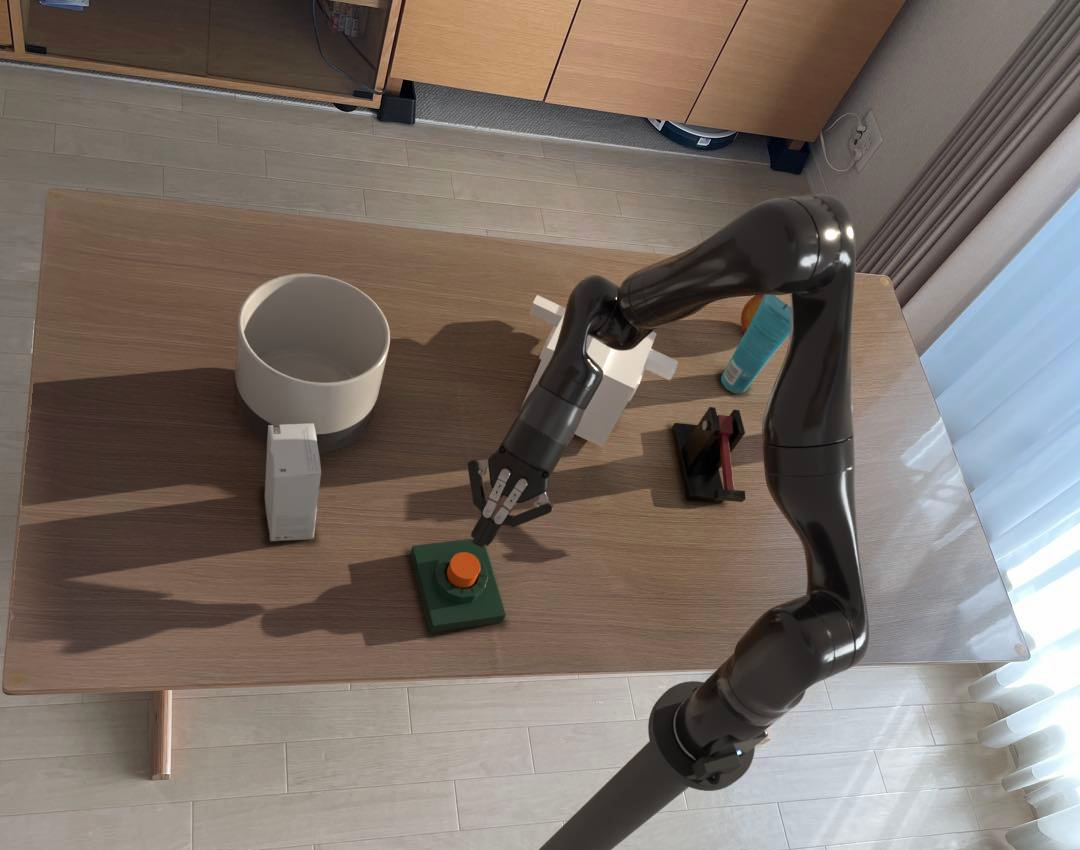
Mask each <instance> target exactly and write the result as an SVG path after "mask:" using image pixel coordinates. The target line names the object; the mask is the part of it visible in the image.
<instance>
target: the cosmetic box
mask: <svg viewBox="0 0 1080 850" xmlns="http://www.w3.org/2000/svg"><path fill="white" fill-rule="evenodd" d="M320 459H321V458H320V453H319V451H318V445H317V438H316V432H315V427H314V424H313V423H311V424H309V423H308V424H284V425H268V438H267V442H266V461H265V480H264V481H265V482H264V506H265V513H266V520H267V521H266V522H267V528H268V533H269V541H270V542H279V541H282V542H283V541H306V540H313V539H314V538H315V529H316V521H317V513H318V503H319V502H318V501H319V493H320V484H321V483H320V482H321V476H322V467H321V460H320Z"/></svg>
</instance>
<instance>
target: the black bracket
mask: <svg viewBox="0 0 1080 850" xmlns="http://www.w3.org/2000/svg"><path fill="white" fill-rule="evenodd" d="M729 416H732V424H733V434H732V435H731V436H729V437H728V439H729V448H730V454H731V453H732V452H733V451H734V449H735V448H736V447H737V446H738V445H739V443H740V441H741V440H742V439H743V437H744V436H745V435H746V431H745V427H744V423H743V418H742V415H741V411H740V409H733V410H732V411H731V412H730V414H729ZM670 428H671V433H672V438H673V442H674V448H675V452H676V457H677V463H678V468H679V472H680V476H681V481H682V486H683V491H684V495H685V500H686V501H687V502H700V503H711V504H723V502H724V501H722V500H714V491H715V490H716V489H724V484H723V480H722V476H721V473H720V469H721V468H722V464H721V454H720V445H719V439H718V438H716V437H717V436H718V434H719V433H720V431H721V429H720V425H719V421H718V412H717V408H716V407H715V406H709V407H708V408H707V410H706V411H705V413H704V415H703V416H702V417H701V419H700V420H699V422H698V424H691V423H683V422H682V423H681V422H674V423H673V425H672V426H671V427H670Z"/></svg>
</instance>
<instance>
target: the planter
mask: <svg viewBox="0 0 1080 850" xmlns="http://www.w3.org/2000/svg"><path fill="white" fill-rule="evenodd" d="M390 344H391V332H390V326H389V324H388V320H387V318H386V316H385V314H384V313H383V311H382V310H381V308H380V307H379V306H378V304H377V303H376V302H375V301H374V300H373V299H372V298H371V297H370V296H369V295H367V294H366V293H365V292H363V291H362V290H361V289H359V288H357V287H356V286H354V285H352V284H350V283H349V282H345V281H343V280H341V279H338V278H335V277H331V276H328V275H323V274H317V273H292V274H285V275H281V276H277V277H274V278H272V279H269V280H267V281H265V282H262V283H261V284H260V285H258V286H257V287H255V288H254V289H253V290H252V291H251V292H249V293H248V295H247V296H246V297H245V299H244V300H243V301H242V304H241V305H240V308H239V312H238V315H237V327H236V346H235V348H236V349H235V364H234V365H235V366H234V367H235V369H234V388H233V399H234V404H235V408H236V411H237V413H238V415H239V417H240V419H241V420H242V422H243V423H244V425H245V426H246V427H247V428H248V429H249V430H250V431H251V432H252V433H253V434H254V435H255V436H256V437H258V438H259V439H261V440H262V441H263V442H265V443H267V438H268V425H284V424H308V423H309V424H311V423H313V424H314V427H315V432H316V438H317V445H318V451H319V454H325V453H326V454H327V453H330V452H335V451H338V450H340V449H343V448H345V447H348V446H349V445H351V444H353V443H354V442H356V441H357V440H358V439H359V438H360V437H362V435H363V434H364V433H365V432H366V431H367V429H368V428H369V426H370V425H371V422H372V420H373V418H374V414H375V409H376V406H377V401H378V397H379V393H380V388H381V385H382V381H383V375H384V371H385V367H386V364H387V363H386V362H387V359H388V353H389V350H390ZM298 378H299V379H298ZM307 379H308V380H307ZM312 380H314V381H312Z"/></svg>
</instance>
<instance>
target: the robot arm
mask: <svg viewBox="0 0 1080 850" xmlns="http://www.w3.org/2000/svg"><path fill="white" fill-rule="evenodd" d="M856 261H857V239H856V231H855V227H854V222H853V218H852V216H851V214H850V212H849V211H848V208H847V206H845V204H844V203H843V201H842V200H840V199H839V198H838V197H836V196H834V195H833V194H830V193H826V192H824V193H823V192H816V193H806V194H798V195H797V194H796V195H791V196H790V195H789V196H783V197H775V198H770V199H767V200H763V201H761V202H758V203H757V204H755V205H753V206H752V207H750V208H749V209H747V210H745V211H744V212H742V213H741V214H739V215H738V216H737V217H735V218H734V219H733V220H731V221H730V222H729V223H727V224H726V225H724V226H723V227H722V228H720V229H719V230H717V231H716V232H715V233H713V234H712V235H711V236H709V237H708V238H706V239H704V240H703V241H701V242H700V243H698V244H697V245H695V246H693V247H691V248H689V249H687V250H685V251H682V252H679V253H677V254H675V255H672V256H670V257H667V258H665V259H663V260H660V261H657V262H654V263H653V264H650V265H647V266H646V267H643V268H641V269H638V270H636V271H633V272H632V273H631V274H629V275H627V277H625V279H624V280H623V281H622V282H621V284H620V286H619V285H617V284H615V283H613V281H611V280H609V279H608V278H606V277H604V276H602V275H598V274H593V275H589V276H587V277H585V278H583V279H581V280H580V281H579V282H578V283H577V284H576V285H575V286H574V288H572V291H571V293H570V295H569V297H568V300H567V303H566V305H565V308H566V309H565V314H564V318H563V322H562V326H561V330H560V334H559V337H558V341H557V344H556V347H555V350H554V353H553V356H552V358H551V360H550V362H549V363H548V365H547V367H546V369H545V370H544V372H543V374H542V376H541V378H540V379H539V381H538V384H537V385H536V386H535V388H534V389H533V391H532V392H531V393H530V394H529V396H528V397H527V399H526V400H525V399H524V400H525V402H524V401H523V402H524V404H523V403H522V405H523V406H522V405H521V407H522V408H521V407H520V409H519V411H518V413H517V414H516V416H515V418H514V420H513V421H512V423H511V426H510V427H509V429H508V430H507V433H506V435H505V436H504V438H503V440H502V441H501V443H500V445H499V447H498V448H497V449H496V450H495V451H494V452H493V453H491V454H489V456H488V458H483V459H472V460H469V461H468V462H467V471H468V477H469V483H470V490H471V498H472V503H473V505H474V506H475V507H476V508H477V509H478V510H479V511H480V517H479V518H478V520H477V522H476V524H475V525H474V527H473V529H472V531H471V534H470V537H471V538H472V539H473V541H472V543H474V544H476V545H478V546H479V547H481V548H482V547H483V546H484V545H485V546H486V547H488V546H489V545H490V544H491V543H493V541H494V540H495V538H496V536H497V534H498V532H499V531H500V529H501V527H502V526H509V527H510V528H516V527H518V526H521V525H523V524H525V523H528V522H530V521H531V522H532V521H533V520H536V519H539V518H540V517H544V516H546V515H548V514H551V512H552V511H553V510H554V503H552V502H551V501H550V498H549V496H548V493H547V491H548V489H549V486H550V485H549V484H550V483H549V481H550V478H551V476H552V474H553V472H554V471H555V469H556V467H557V465H558V464H559V462H560V460H561V458H562V456H563V455H564V453H565V451H566V449H567V447H568V446H569V444H570V443H571V442H572V440H573V439H574V436H575V434H574V433H575V432H576V430H577V428H578V426H579V424H580V421H581V419H582V416H583V414H584V412H585V411H584V410H586V408H587V407H588V405H589V403H590V401H591V400H592V398H593V396H594V394H595V392H596V391H597V389H598V387H599V385H600V384H601V382H602V379H603V376H604V373H603V370H602V368H601V367H600V366H599V365H598V364H597V363H596V362H595V361H594V360H593V359H592V358H591V357H590V356H589V355H588V353H587V350H586V345H587V337H588V335H589V336H591V337H592V338H594V339H596V340H597V341H599V342H601V343H602V344H604V345H606V346H608V347H609V348H611V349H614V350H618V351H627V350H631V349H633V348H635V347H636V346H637V345H638V344H639V343H640V342H641V341H642V340H643V339H645V338H646V337H647V336H648V335H649V334H651V333H652V332H654V331H656V329H658V328H660V327H663V326H665V325H669V324H671V323H676V322H678V321H681V320H683V319H686V318H688V317H691V316H693V315H695V314H697V313H698V312H700V311H701V310H703V309H704V308H705V307H707V306H708V305H709V304H711V303H712V304H713V303H714V302H717V301H721V300H725V299H729V298H730V299H731V298H739V297H740V298H741V297H752V296H753V297H754V296H755V295H776V296H783V295H790V307H791V334H790V335H789V341H788V344H787V345H788V346H787V350H786V352H785V356H784V358H783V362H782V364H781V367H780V369H779V372H778V373H777V376H776V379H775V381H774V383H773V387H772V389H771V392H770V393H769V398H768V400H767V403H766V406H765V410H764V414H763V419H762V426H761V437H762V453H763V454H762V455H763V467H764V468H763V470H764V477H765V478H764V479H765V483H766V486H767V490H768V492H769V494H770V497H771V498H772V500H773V502H774V503H775V505H776V506H777V508H778V509H779V511H780V513H781V514H782V515H783V517H784V518H785V519H786V521H787V522H788V524H789V525H790V526H791V527H792V529H793V531H794V532H795V534H796V535H797V537H798V539H799V540H800V543H801V545H802V548H803V552H804V558H805V565H806V566H805V567H806V582H807V583H806V593H805V594H804V595H801V596H799V597H796V598H794V599H791V600H789V601H786V602H784V603H781V604H778V605H775V606H772V607H771V608H769V609H768V610H767V611H765V612H764V613H762V614H761V615H760V616H759V617H758V618H757V619H756V620H755V621H754V622H753V623H752V625H751V626H749V628H748V629H747V631H746V632H745V633H744V634H743V635H742V636H741V637H740V639H738V641H737V643H736V645H735V647H734V651H733V653H732V654H731V655H730V656H729V657H728V658H727V659H726V660H725V661H724V662H723V663H722V664H721V665H720V666H719V667H718V668H717V669H716V670H715V671H713V673H712V674H711V675H710V676H709V677H708V678H707V679H706V680H705V681H703V682H704V683H703V684H702V685H701V686H700V687H697V688H695V689H694V690H693V691H692V692H694V691H695V692H694V693H693V694H692V695H691V696H690V697H689V698H688V699H687V700H686V701H684V702H683V703H682V704H681V705H680V706H679V707H678V708H677V709H676V711H675V713H674V715H673V718H672V733H673V737H674V740H675V742H676V744H677V746H678V748H679V749H680V750H681V752H682V753H683V754H684V755H685V756H686V757H687V758H689V759H690V760H691V761H693V762H694V764H693V765H692V768H693V771H694V774H695V777H696V779H697V780H701V779H706V780H707V781H708V782H709V783H711V784H712V785H717V784H718V783H719V782H720V780H721V777H722V775H723V774H727V773H731V772H733V771H734V770H735V769H737V768H738V767H739V766H741V765H742V764H741V761H740V759H739V758H741V757H742V756H743V755H745V754H746V753H747V752H748V751H750V750H751V749H752V748H754V747H755V748H756V746H758V745H759V744H760V743H761V742H762V741H764V740H765V739H767V738H768V736H769V733H768V729H769V728H770V727H771V726H773V725H774V724H776V722H778V721H779V720H781V718H783V717H784V716H786V714H788V713H789V712H790V711H792V710H794V708H796V707H797V706H798V705H799V704H800V703H801V701H802V700H803V698H804V697H805V694H806V691H807V690H808V689H810V688H811V687H812V686H814V685H816V684H818V683H821V682H822V681H824V680H827V679H829V678H832V677H834V676H837V675H839V674H840V673H843V672H845V671H848V670H849V669H852V668H853V667H855V666H856V665H858V664H859V663H860V662H862V660H863V659H864V658H865V656H866V654H867V651H868V648H869V644H870V622H869V621H870V620H869V612H868V605H867V599H866V592H865V584H864V578H863V572H862V565H861V556H860V550H859V548H860V547H859V536H858V535H859V534H858V521H857V520H858V519H857V504H856V457H855V435H854V433H855V429H854V419H853V418H854V417H853V409H852V407H853V404H852V403H853V402H852V324H853V323H852V322H853V308H854V295H855V279H856V263H857V262H856ZM487 468H488V474H489V475H488V476H489V482H490V487H491V489H492V490H491V493H490V495H489V496H488V500H486V495H485V488H484V481H483V476H485V475H486V474H487ZM503 497H505V498H506V499H505V501H504V502H503V504H502V505H501V507H500V509H499V510H498V512H497V513H496V511H497V508H498V506H499V504H500V502H501V501H502V499H503ZM536 497H538V499H537V500H536V501H534V503H533V508H531V509H528V510H525V511H523V512H521V513H519V514H516V515H513V514H511V513H512V511H513V509H514V508H516V506H517V504H523V503H525V502H528V501H530V500H532V499H535V498H536ZM495 513H496V515H495ZM494 515H495V516H494ZM493 516H494V518H493ZM692 692H691V693H692ZM714 776H715V778H713V777H714Z"/></svg>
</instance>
